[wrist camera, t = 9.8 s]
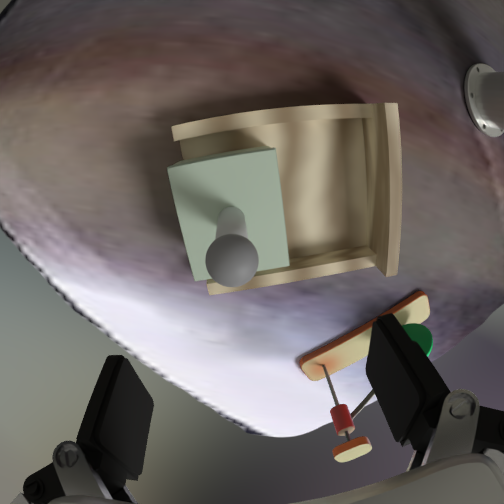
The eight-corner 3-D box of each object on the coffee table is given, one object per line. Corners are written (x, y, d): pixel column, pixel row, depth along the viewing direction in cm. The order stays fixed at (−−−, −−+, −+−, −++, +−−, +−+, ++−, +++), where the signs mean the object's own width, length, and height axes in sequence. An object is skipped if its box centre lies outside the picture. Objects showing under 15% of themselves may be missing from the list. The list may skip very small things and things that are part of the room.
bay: (368, 105, 30) (397, 103, 23) (373, 250, 38) (396, 274, 32) (178, 126, 30) (164, 126, 23) (211, 278, 38) (207, 309, 32)
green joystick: (267, 144, 30) (304, 162, 15) (280, 244, 35) (315, 332, 20) (177, 160, 30) (127, 194, 15) (199, 257, 35) (181, 352, 20)
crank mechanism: (311, 378, 49) (336, 467, 31) (296, 359, 46) (321, 457, 28) (427, 312, 45) (483, 383, 27) (422, 287, 42) (488, 361, 25)
